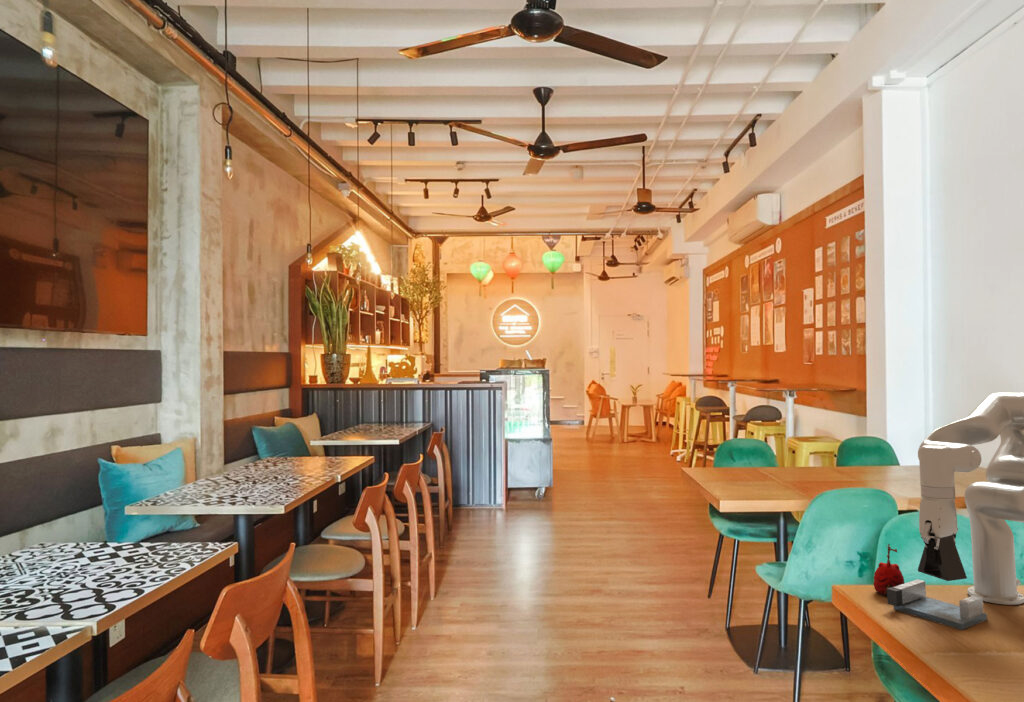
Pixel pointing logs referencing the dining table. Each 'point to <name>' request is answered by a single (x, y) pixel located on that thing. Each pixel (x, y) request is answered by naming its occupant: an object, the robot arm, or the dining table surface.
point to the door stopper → (944, 561)
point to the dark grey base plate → (947, 611)
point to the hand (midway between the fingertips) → (941, 561)
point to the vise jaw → (906, 592)
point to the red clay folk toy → (887, 575)
